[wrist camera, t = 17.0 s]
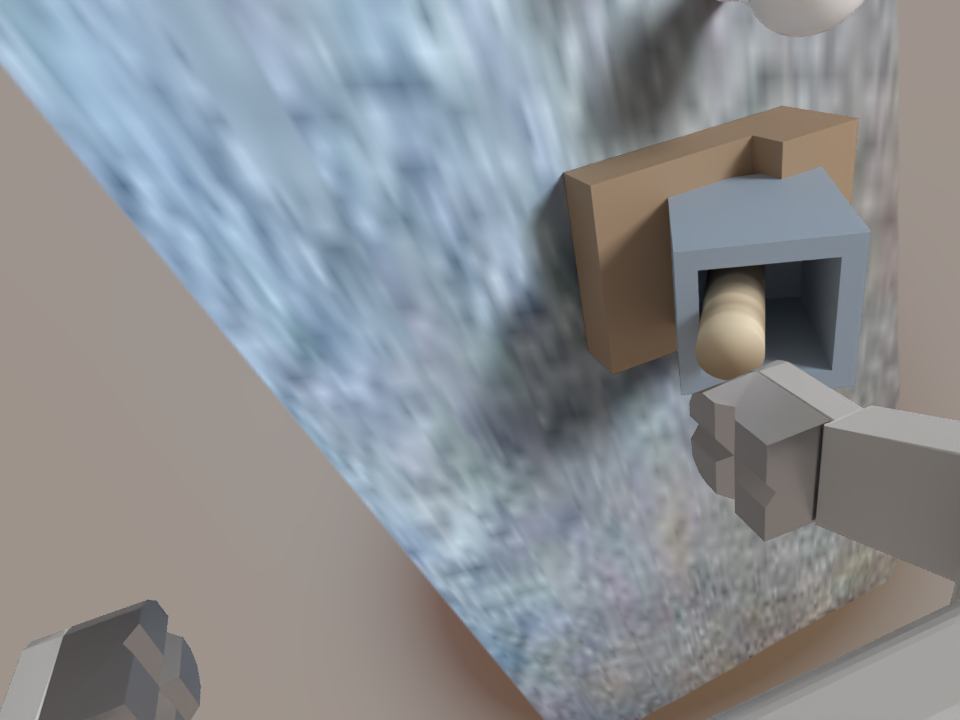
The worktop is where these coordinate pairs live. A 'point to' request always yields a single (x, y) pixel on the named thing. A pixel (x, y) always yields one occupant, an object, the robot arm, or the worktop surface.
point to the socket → (725, 242)
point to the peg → (732, 322)
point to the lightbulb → (801, 14)
